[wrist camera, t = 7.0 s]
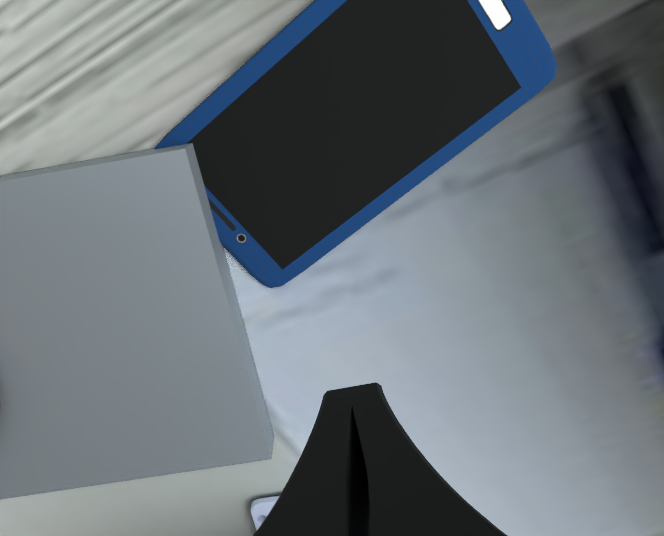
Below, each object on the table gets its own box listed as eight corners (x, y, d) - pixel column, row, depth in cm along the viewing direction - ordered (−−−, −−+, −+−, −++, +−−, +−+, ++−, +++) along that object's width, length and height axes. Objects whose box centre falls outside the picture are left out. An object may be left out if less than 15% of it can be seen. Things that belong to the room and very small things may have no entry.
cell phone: (559, 70, 19) (568, 72, 18) (271, 289, 22) (270, 297, 22) (447, -120, 17) (452, -127, 16) (144, 155, 20) (137, 159, 19)
